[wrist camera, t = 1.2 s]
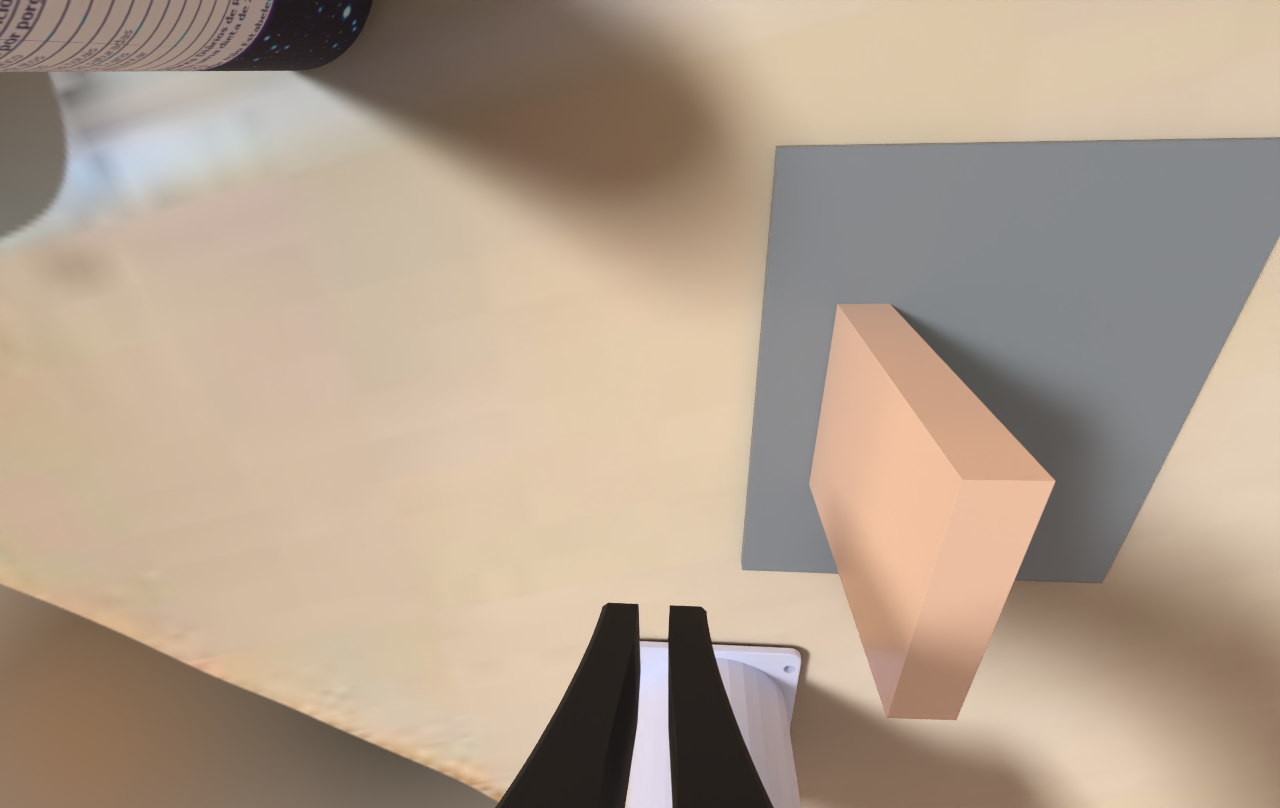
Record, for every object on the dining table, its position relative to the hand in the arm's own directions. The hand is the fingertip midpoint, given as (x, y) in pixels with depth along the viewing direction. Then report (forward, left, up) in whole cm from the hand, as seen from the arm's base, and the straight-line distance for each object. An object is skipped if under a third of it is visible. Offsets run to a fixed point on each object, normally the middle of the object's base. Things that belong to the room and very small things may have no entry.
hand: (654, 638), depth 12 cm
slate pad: (0, -10, -10) cm, 14 cm away
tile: (0, -6, -10) cm, 12 cm away
